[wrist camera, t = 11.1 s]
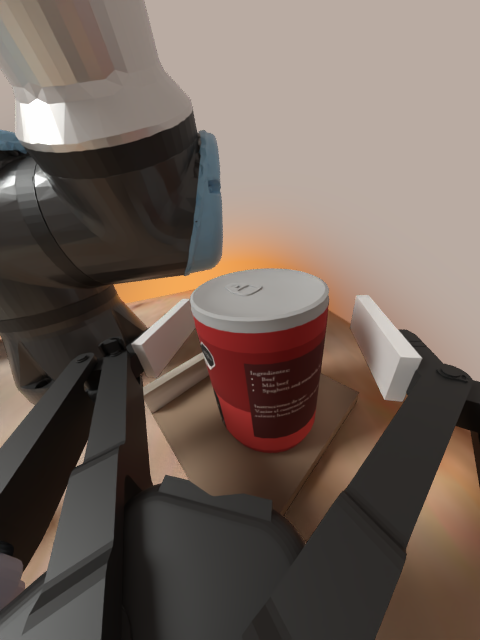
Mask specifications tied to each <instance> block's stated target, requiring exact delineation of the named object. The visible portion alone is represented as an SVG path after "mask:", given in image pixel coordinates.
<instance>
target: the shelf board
mask: <svg viewBox="0 0 480 640" xmlns="http://www.w3.org/2000/svg"><path fill="white" fill-rule="evenodd" d="M143 393H144V400H145V402H146V404H147V406H148V407H149V409H150V411H151V413H152V415H153V417H154V418H155V420H156V422H157V424H158V425H159V427H160V429H161V431H162V433H163V434H164V436H165V438H166V440H167V441H168V443H169V445H170V447H171V448H172V450H173V452H174V454H175V456H176V457H177V459H178V461H179V463H180V464H181V466H182V468H183V470H184V472H185V473H186V475H187V477H188V479H189V480H190V481H191V482H192V483H193V484H195V485H196V486H198V487H199V488H201V489H202V490H204V491H205V492H207V493H208V494H209V495H211V496H222V495H232V494H242V493H244V494H248V495H252V496H256V497H260V498H264V499H269V500H272V504H273V509H274V510H275V511H277V512H278V513H280V514H281V515H282V516H284V514H285V513H286V511H287V509H288V508H289V506H290V505H291V503H292V502H293V500H294V498H295V497H296V495H297V494H298V492H299V491H300V489H301V488H302V486H303V484H304V483H305V481H306V480H307V478H308V477H309V475H310V474H311V472H312V470H313V469H314V467H315V466H316V464H317V463H318V461H319V459H320V458H321V456H322V455H323V453H324V452H325V450H326V449H327V447H328V445H329V444H330V442H331V441H332V439H333V438H334V436H335V434H336V433H337V431H338V430H339V428H340V427H341V425H342V424H343V422H344V420H345V419H346V417H347V416H348V414H349V413H350V411H351V409H352V408H353V406H354V405H355V403H356V402H357V398H358V394H359V392H357V391H355V390H353V389H351V388H349V387H347V386H345V385H343V384H341V383H339V382H337V381H335V380H333V379H331V378H329V377H327V376H325V375H323V374H321V373H320V381H319V389H318V397H317V405H316V413H315V420H314V423H313V426H312V428H311V430H310V432H309V433H308V434H307V435H306V437H305V438H304V439H303V440H302V441H301V442H300V443H299V444H297V445H296V446H295V447H293V448H291V449H289V450H286V451H283V452H278V453H264V452H259V451H255V450H253V449H250V448H248V447H246V446H244V445H243V444H242V443H240V442H239V441H238V440H237V439H236V438H235V437H234V436H233V435H232V434H231V433H230V432H229V431H228V430H227V428H226V427H225V425H224V423H223V421H222V418H221V415H220V412H219V408H218V405H217V401H216V398H215V394H214V391H213V387H212V383H211V380H210V376H209V373H208V369H207V366H206V362H205V359H204V355H203V352H202V353H200V354H198V355H197V356H195V357H193V358H192V359H190V360H188V361H187V362H185V363H183V364H181V365H180V366H178V367H176V368H175V369H173V370H171V371H170V372H168V373H166V374H165V375H163V376H161V377H160V378H158V379H156V380H154V381H153V382H151V383H149V384H148V385H146V386H144V387H143Z"/></svg>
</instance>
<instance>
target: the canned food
mask: <svg viewBox="0 0 480 640" xmlns="http://www.w3.org/2000/svg"><path fill="white" fill-rule="evenodd" d="M328 293H329V288H328V286H327V284H326V283H325V282H324V281H323V280H321V279H320V278H318V277H316V276H313V275H311V274H308V273H305V272H301V271H296V270H289V269H253V270H245V271H239V272H234V273H229V274H226V275H222V276H220V277H217V278H214V279H212V280H210V281H207V282H206V283H204V284H202V285H201V286H199V287H198V288H197V289H196V290H194V291H193V293H192V295H191V297H190V303H191V311H192V315H193V318H194V322H195V327H196V331H197V334H198V338H199V341H200V345H201V348H202V352H203V355H204V359H205V362H206V366H207V369H208V373H209V376H210V380H211V383H212V387H213V391H214V394H215V398H216V401H217V405H218V408H219V412H220V415H221V418H222V421H223V423H224V425H225V427H226V428H227V430H228V431H229V432H230V433H231V434H232V435H233V436H234V437H235V438H236V439H237V440H238V441H239V442H240V443H242V444H243V445H244V446H246V447H248V448H250V449H253V450H255V451H259V452H264V453H278V452H283V451H286V450H289V449H291V448H293V447H295V446H296V445H297V444H299V443H300V442H301V441H302V440H303V439H304V438H305V437H306V435H307V434H308V433H309V432H310V430H311V428H312V426H313V423H314V420H315V413H316V405H317V397H318V389H319V381H320V373H321V365H322V357H323V349H324V341H325V333H326V325H327V316H328V305H329V296H328Z"/></svg>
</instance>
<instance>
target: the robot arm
mask: <svg viewBox="0 0 480 640" xmlns="http://www.w3.org/2000/svg"><path fill="white" fill-rule="evenodd" d="M0 69H1V71H2V72H3V74H4V75H5V76H6V78H7V79H8V81H9V82H10V84H11V85H12V89H13V92H14V96H15V133H13V132H8V131H3V130H0V336H1V338H2V340H3V343H4V346H5V350H6V353H7V357H8V360H9V364H10V367H11V371H12V374H13V378H14V381H15V385H16V387H17V388H18V390H19V391H20V392H21V393H22V394H23V395H24V396H25V397H26V398H27V399H28V400H29V401H30V402H31V403H33V404H35V406H34V407H33V409H32V410H31V411H30V412H29V414H28V415H27V416H26V417H25V419H24V420H23V421H22V422H21V423H20V425H19V426H18V427H17V428H16V430H15V431H14V432H13V433H12V435H11V436H10V437H9V438H8V440H7V441H6V442H5V443H4V444H3V446H2V447H1V448H0V640H375V638H376V635H377V633H378V630H379V628H380V625H381V622H382V620H383V617H384V615H385V612H386V610H387V607H388V605H389V602H390V600H391V597H392V594H393V592H394V589H395V587H396V584H397V582H398V579H399V577H400V574H401V572H402V569H403V566H404V563H405V559H406V555H407V554H406V547H407V544H408V541H409V539H410V536H411V534H412V531H413V529H414V526H415V524H416V522H417V519H418V517H419V514H420V512H421V509H422V507H423V504H424V502H425V499H426V497H427V494H428V492H429V490H430V487H431V485H432V482H433V480H434V477H435V475H436V472H437V470H438V467H439V465H440V463H441V460H442V458H443V455H444V453H445V450H446V448H447V445H448V443H449V440H450V438H451V435H452V433H453V431H454V428H455V426H458V427H461V428H464V429H467V430H470V431H471V437H472V443H473V449H474V455H475V462H476V468H477V474H478V480H479V486H480V382H478V381H474V380H472V378H471V377H470V376H469V375H468V374H467V373H466V372H464V371H462V370H461V369H459V368H456V367H454V366H451V365H447V364H443V363H442V362H441V361H440V360H439V359H438V357H437V356H436V355H434V353H433V352H432V351H431V350H430V349H429V348H428V347H427V346H426V345H425V344H424V343H423V342H422V341H421V340H420V339H419V338H418V337H417V336H416V335H415V334H413V333H411V332H410V331H408V330H398V329H397V328H396V327H395V326H394V325H393V323H392V322H391V321H390V320H389V319H388V317H387V316H386V315H385V314H384V313H383V312H382V310H381V309H380V308H379V307H378V306H377V305H376V303H375V302H374V301H373V300H372V299H371V297H370V296H369V295H356V299H355V305H354V310H353V315H352V320H351V325H350V329H351V331H352V333H353V335H354V337H355V339H356V341H357V344H358V346H359V348H360V350H361V352H362V354H363V356H364V358H365V360H366V362H367V364H368V367H369V369H370V371H371V373H372V375H373V377H374V379H375V381H376V383H377V385H378V387H379V390H380V392H381V394H382V396H383V398H384V400H390V401H401V402H403V400H404V398H405V395H406V393H407V395H408V397H407V398H406V400H405V401H404V403H403V404H402V406H401V407H400V409H399V410H398V412H397V413H396V415H395V416H394V418H393V419H392V421H391V422H390V424H389V425H388V427H387V428H386V430H385V431H384V433H383V434H382V436H381V437H380V439H379V440H378V442H377V443H376V445H375V446H374V448H373V449H372V451H371V452H370V454H369V455H368V457H367V458H366V460H365V461H364V463H363V464H362V466H361V467H360V469H359V470H358V472H357V473H356V475H355V476H354V478H353V479H352V481H351V482H350V484H349V485H348V487H347V488H346V489H345V490H344V491H342V492H341V493H340V495H339V496H338V497H337V499H336V500H335V502H334V503H333V505H332V506H331V508H330V509H329V511H328V512H327V513H326V515H325V516H324V518H323V519H322V521H321V522H320V524H319V525H318V527H317V528H316V530H315V531H314V533H313V534H312V536H311V537H310V539H309V540H308V542H307V543H306V544H305V542H304V540H303V539H302V537H301V536H300V534H299V533H298V532H297V530H296V529H295V528H294V526H293V525H292V524H291V523H290V522H289V521H288V520H287V519H286V518H285V517H283V516H282V515H281V514H280V513H278V512H277V511H275V510H274V509H273V504H272V500H269V499H264V498H260V497H256V496H252V495H248V494H244V493H242V494H232V495H222V496H211V495H209V494H208V493H207V492H205V491H204V490H202V489H201V488H199V487H198V486H196V485H195V484H193V483H192V482H191V481H189V480H185V479H181V478H177V477H173V476H168V475H165V477H164V479H163V482H162V483H161V484H157V485H154V486H153V484H152V481H151V476H150V466H149V454H148V442H147V430H146V418H145V406H144V393H143V381H142V377H141V375H140V374H141V373H142V372H143V371H144V372H145V374H146V376H147V377H152V378H157V377H158V376H159V375H160V373H161V372H162V371H163V369H164V368H165V367H166V365H167V364H168V363H169V362H170V360H171V359H172V358H173V356H174V355H175V354H176V352H177V351H178V350H179V349H180V347H181V346H182V345H183V343H184V342H185V341H186V339H187V338H188V337H189V336H190V334H191V333H192V332H193V330H194V329H195V328H196V327H195V322H194V318H193V315H192V311H191V303H190V299H182V300H181V301H180V302H178V303H177V304H176V305H175V306H174V307H173V308H172V309H171V310H169V311H168V312H167V313H166V314H165V315H164V316H163V317H161V318H160V319H159V320H158V321H157V322H156V323H155V324H153V325H152V326H151V327H150V328H148V329H147V327H146V325H145V324H144V323H143V322H142V321H141V320H140V319H139V318H138V317H137V316H136V315H135V314H134V313H133V312H132V311H131V310H130V308H129V307H128V306H127V305H126V304H125V303H124V302H123V301H122V300H121V299H120V297H119V296H118V294H117V292H116V290H115V288H114V285H113V284H119V283H126V282H135V281H142V280H150V279H157V278H165V277H173V276H180V275H184V276H187V275H189V274H190V273H194V272H198V271H204V270H209V269H211V268H213V267H215V266H216V265H217V264H218V263H219V261H220V259H221V256H222V242H223V241H222V240H223V232H222V231H223V229H222V228H223V225H222V200H221V193H220V188H221V186H220V165H219V154H218V146H217V142H216V138H215V136H214V135H213V134H211V133H207V132H206V131H205V130H202V131H199V133H197V129H196V124H195V119H194V114H193V107H192V103H191V100H190V98H189V97H188V96H187V95H186V93H184V91H183V90H182V89H181V88H180V87H179V86H178V85H177V84H176V82H175V81H173V79H172V78H171V77H170V76H169V75H168V74H167V73H166V72H165V70H164V69H163V67H162V65H161V63H160V61H159V58H158V54H157V50H156V46H155V42H154V38H153V34H152V30H151V26H150V22H149V18H148V14H147V10H146V6H145V2H144V0H0ZM87 440H88V443H87V448H86V453H85V458H84V462H83V464H81V465H79V466H77V467H76V465H77V462H78V460H79V458H80V456H81V453H82V451H83V449H84V447H85V445H86V442H87ZM67 485H68V486H67ZM66 487H67V490H66V494H65V498H64V503H63V507H62V511H61V515H60V519H59V523H58V528H57V532H56V536H55V540H54V544H53V548H52V553H51V557H50V561H49V565H48V569H47V571H46V572H45V573H44V574H42V575H41V576H40V577H39V578H38V579H37V580H35V581H34V582H33V583H32V584H31V585H30V586H28V587H27V588H26V589H25V583H24V582H23V581H21V580H20V579H21V576H22V573H23V571H24V570H25V568H26V567H27V565H28V563H29V562H30V560H31V558H32V557H33V555H34V553H35V551H36V549H37V548H38V546H39V544H40V542H41V541H42V539H43V537H44V535H45V533H46V530H47V528H48V526H49V524H50V522H51V520H52V518H53V516H54V514H55V511H56V509H57V507H58V505H59V502H60V500H61V498H62V496H63V494H64V491H65V489H66Z"/></svg>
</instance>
